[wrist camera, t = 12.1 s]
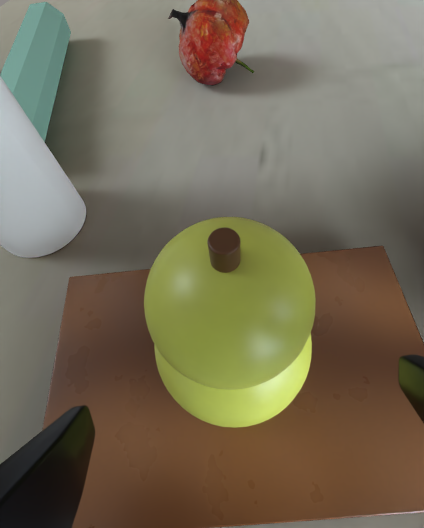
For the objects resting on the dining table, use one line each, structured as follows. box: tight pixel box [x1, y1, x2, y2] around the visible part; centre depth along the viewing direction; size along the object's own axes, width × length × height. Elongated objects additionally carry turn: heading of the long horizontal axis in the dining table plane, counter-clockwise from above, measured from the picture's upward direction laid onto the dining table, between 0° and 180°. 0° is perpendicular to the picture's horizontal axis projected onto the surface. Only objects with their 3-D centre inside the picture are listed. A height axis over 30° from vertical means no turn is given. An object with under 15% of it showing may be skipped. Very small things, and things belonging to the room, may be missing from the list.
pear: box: [144, 217, 316, 428], centre depth 11 cm, size 7×7×12 cm
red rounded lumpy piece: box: [168, 0, 254, 85], centre depth 31 cm, size 7×7×10 cm
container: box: [0, 2, 71, 142], centre depth 32 cm, size 6×6×25 cm
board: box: [42, 246, 424, 528], centre depth 17 cm, size 13×20×2 cm, turn 94°
